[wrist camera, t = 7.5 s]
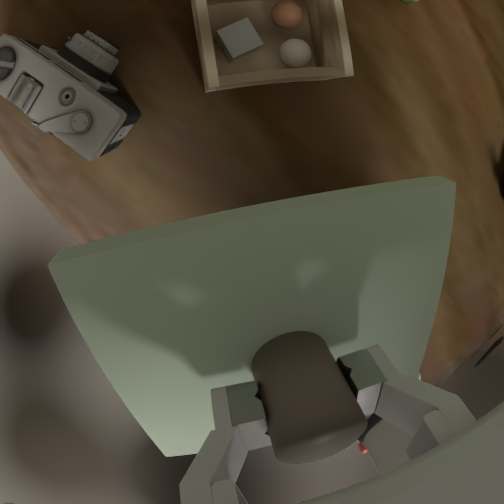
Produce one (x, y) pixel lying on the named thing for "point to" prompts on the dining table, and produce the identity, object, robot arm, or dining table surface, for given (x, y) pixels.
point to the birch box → (272, 43)
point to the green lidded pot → (408, 1)
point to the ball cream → (295, 53)
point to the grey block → (238, 39)
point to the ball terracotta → (286, 14)
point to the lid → (263, 308)
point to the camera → (68, 90)
